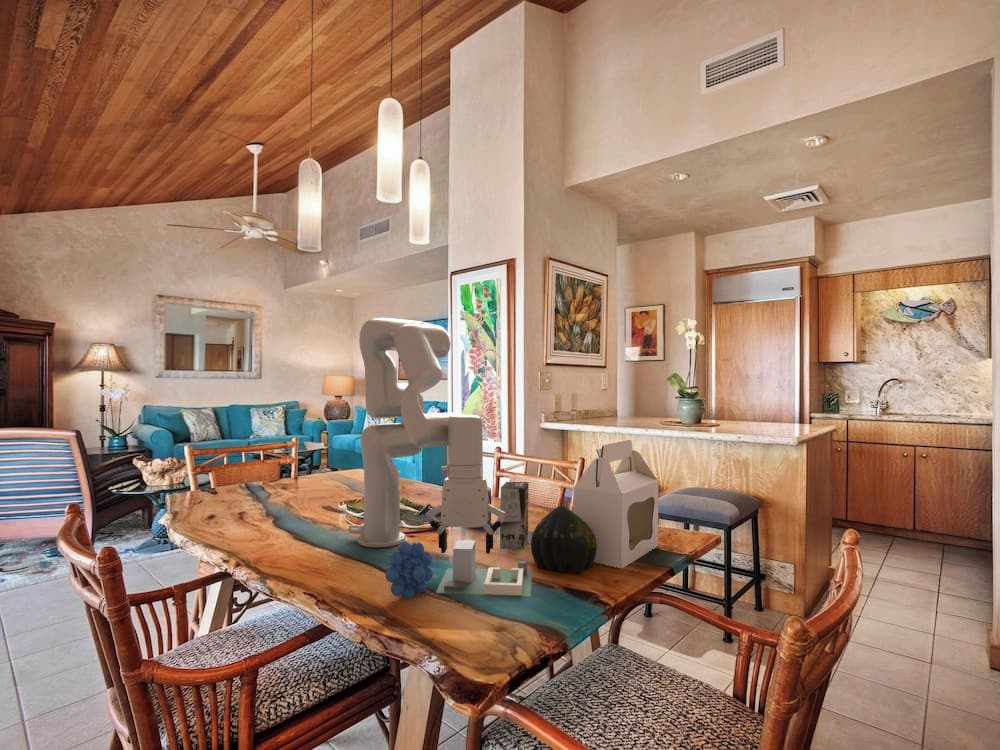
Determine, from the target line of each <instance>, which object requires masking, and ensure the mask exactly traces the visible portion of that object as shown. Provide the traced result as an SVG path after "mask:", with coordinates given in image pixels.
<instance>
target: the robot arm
mask: <svg viewBox="0 0 1000 750" xmlns="http://www.w3.org/2000/svg"><path fill="white" fill-rule="evenodd" d="M358 342H359V349H360V354H361V356H362V360H363V367H364V387H365V388H364V390H365V391H364V393H365V397H364V398H365V409H366V413H367V415H368V416H369V417H370V418H373V419H379V420H381V419H401V422H395V423H394V422H388V423H387V422H386V423H378V424H377V423H376V424H373V425H372V424H371V425H369V426H367V427H366V428H364V429H363V431H362V432H361V434H360V439H359V440H360V441H359V443H360V444H359V445H360V449H361V450H360V451H361V456H362V462H363V465H362V466H363V523H360V524H353V523H352V524H349V526H348V531H349V533H350V534H358V536H357V544H358V545H360V546H362V547H367V548H388V547H393V546H398V545H400V544H401V543H402V542H406V534H405V533H403V532H402V531H400V529H401V528H400V527H401V526H400V517H401V516H400V515H401V514H400V512H401V510H400V509H401V508H400V507H401V506H400V505H401V504H400V503H401V498H400V496H401V495H400V494H401V482H400V481H401V478H400V477H401V475H400V472H399V470H398V468H397V467H396V465H395V463H394V462H393V459H396V458H407V457H408V458H409V457H413V456H417V455H419V454H421V452H422V451H423V449H425V448H426V449H428V448H438V447H447V464H446V465H445V466H441V468H440V469H441V471H440V472H441V473H443V474H446V475H447V477H445V478H444V480H443V485H442V494H441V503H440V504H439V505H438V506H435V507H433V508H432V509H430V510H428V511H427V512H426V513H425V517H426V518H427V520H428V522H429V524H430V525H429V526H431V528H433V530H434V531H435V532H436V534H437V535H438V548H439V549H440V553H441V554H445V553H446V552H447V549H448V531H447V530H446V529H447V527H448V528H468V527H483V528H482V529H483V530H485V531H486V534H485V553H486V554H487V555H490V553H491V549H494V533H496V531H498V529H500V526H501V524H502V522H503V520H504V518H505V516H506V513H505V512H504V511H502V510H500V508H498V507H496V506H494V505H492V503H491V504H489V495H488V482H487V478H486V477H484V476H483V475H484V473H483V472H484V471H483V469H484V467H483V465H484V463H483V457H484V456H483V450H484V449H483V448H484V447H483V443H484V442H483V420H482V418H481V416H479V415H477V414H463V413H461V412H430V413H429V412H428V413H425V405H424V404H425V403H424V402H425V401H424V397H423V392H426V391H428V390H430V389H432V388H434V387H435V386H437V384H439V382H441V380H442V379H443V370H442V368H441V365H440V362H439V361H438V359H441V358H442V359H443V358H444V357H446V356H448V354H449V352H450V350H451V349H450V348H451V339H450V336H449V333H448V331H447V330H446V329H445V328H444V327H442V326H441V325H436V324H433V323H429V322H425V321H419V320H409V319H400V318H389V317H378V318H377V317H376V318H370V319H369V320H367V321H365V322H364V323H363V324H362V327H361V329H360V332H359V341H358ZM388 351H396V352H397V355H398V358H399V361H400V363H401V366H402V369H403V372H404V375H405V377H406V380H407V383H399V382H398V376H397V375H398V370H397V364H396V363H395V360H394V359H393V358H392V356H391V355H390V354H389V353H388ZM490 512H491V514H493V515H495V516H496V517H497V519H496V520H495V522H494V523H493V524H492V522H491V523H490V521H489V515H490ZM439 513H440V521H441V522H439V521H438V520H437V519H436V517H435V515H437V514H439Z"/></svg>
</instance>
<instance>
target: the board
mask: <svg viewBox="0 0 1000 750" xmlns="http://www.w3.org/2000/svg"><path fill="white" fill-rule="evenodd" d="M517 568H523V587H522V595H501V596H502V597H503V596H506V597H507V596H509V597H531V592H532V591H531V590H532V574H533V573H532V572H533V571H532V570H528V562H527V561H525V560H520V561H518V562H517ZM488 569H489V568H488ZM488 569H486V568H485V569H484V568H475V574H474V577H473V580H472V583H471V582H466V581H453V567H451V568H450V567H447V568H446V571H445V573H444V575H443V577H442V578H441V581H440V583H439V585H438V587H437V588H436V591H435V594H452V595H453V594H455V595H475V596H476V595H480V596H482V595H483V596H496V595H495V594H484V583H485V579H486V576H487V572H488ZM492 582H495V583H517V579H511V569H501V577H500V579H497V578H493V580H492Z"/></svg>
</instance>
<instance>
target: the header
mask: <svg viewBox="0 0 1000 750" xmlns="http://www.w3.org/2000/svg"><path fill="white" fill-rule="evenodd" d="M501 568H502V567H496V566H495V567H489V566H488V572H487V576H486V579H485V583H484V594H495V595H494V596H502V595H522V587H523V568H518V567H512V568H511V569H510V570H511V579H517V583H495V582H492V580H493V578H497V579H500V577H501V570H502V569H501Z"/></svg>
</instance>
